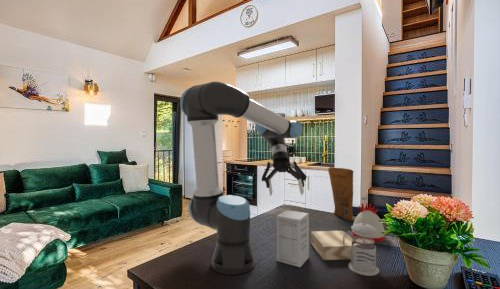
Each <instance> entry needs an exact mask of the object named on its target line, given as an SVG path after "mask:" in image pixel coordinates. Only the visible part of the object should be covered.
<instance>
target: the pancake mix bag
mask: <svg viewBox="0 0 500 289" xmlns="http://www.w3.org/2000/svg"><path fill="white" fill-rule="evenodd" d="M327 169H328V170H327V171H328V175H329V180H330V185H331V190H332V191H331V192H332V197H333V198H332V199H333V204H334V210H333V214H334V215H335V216H336V217H339V218H342V219H343V220H346V221H354V218H353V217H354V216H353V214H354V213H353V206H354V205H353V204H354V203H353V202H354V170H353V169H350V168H343V167H333V166H330V167H329V168H327Z"/></svg>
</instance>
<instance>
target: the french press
mask: <svg viewBox="0 0 500 289" xmlns="http://www.w3.org/2000/svg"><path fill="white" fill-rule="evenodd" d="M360 199H361V201H367V200H368V198H367V196H365V195H362V196H361V197H360ZM350 226H351V227H350V228H351V230H348V231H347V232H345V235H346V234H347V235H348V236H349V235H350V237H351V238H352V239H353V241H352V250H351V251H350V252H351V253H350V252H349V253H350V254H351V259H350V262H349V263H348V268H349V270H351V271H353V273H356V274H358V275H361V276H367V277H369V276H371V277H373V276H376V275H378V274H379V273H380V269H379V268H378V267H377V266H376V265H377V263H376V262H377V245H376V244H375V243H376V242H375V241H374V240H373V239H371V238H367V237H364V234H374V233H376V232H377V230H376V229H375V228H374V227H373V226H371V225H368V224H365V223H364V216H363V223H358V224H354V225H353V224H352V225H350ZM352 230H353V231H356V232H359V233H363V237H361V236H356V237H354V236H353V233H352ZM345 235H344V236H345ZM347 235H346V236H347ZM344 236H343V245H344V242H345V239H344ZM346 236H345V238H346ZM356 243H357V244H359V245H355V246H353V245H354V244H356ZM357 246H358V247H360V248H358V247H357ZM344 247H345V245H344ZM345 250H346V251H347V250H348V249H346V248H345ZM348 251H349V250H348ZM348 251H347V252H348ZM357 253H358V254H357Z"/></svg>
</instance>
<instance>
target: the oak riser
mask: <svg viewBox="0 0 500 289" xmlns="http://www.w3.org/2000/svg"><path fill="white" fill-rule="evenodd" d="M345 233H346V232H345V231H344V230H321V231H319V230H318V231H317V230H316V231H315V230H313V231H310V244H311V245H312V246H313V248H314V249H315V251H316V253H317V254H318V255H319V256H320V257H321V259H322V260H323V261H336V260H351V254H350V253H351V252H350V251H351V250H352V241H353V239H352V238H353V237H352V236H351V235H349V234H348V233H347V234H348V235H347V234H346V235H347V236H346V235H345ZM344 235H345V236H346V238H345V236H344ZM343 236H344V239H345V242H344V245H345V247H344V245H343ZM355 245H360V244H357V243H356V244H354V245H353V246H355ZM357 247H358V246H357ZM345 248H346V249H348V250H349V251H348V250H347V251H348V252H347V251H346V250H345ZM358 248H361V247H358ZM349 252H350V253H349ZM357 254H358V253H357Z"/></svg>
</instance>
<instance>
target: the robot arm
mask: <svg viewBox="0 0 500 289" xmlns="http://www.w3.org/2000/svg"><path fill="white" fill-rule="evenodd" d="M179 99H180V104H179V105H180V109H181V111H182V113H184V115H185V116H186V123H187V124H189V125H190V126H191V131H192V132H191V134H192V145H193V159H194V171H195V181H196V188H195V190H194V191H193V192H192V198H191V199H190V201H189V204H188V213H189V215H190V218H191V219H192V220H193V221H194V222H196V223H197V224H199V225H201V226H205V227H207V228H210V229H212V230H214V231H216V244H215V249H214V252H213V255H212V257H211V258H212V259H211V267H212V269H213V270H214V271H215V272H217V273H220V274H222V275H226V276H236V275H237V276H238V275H242V274H246V273H248V272H250V271H252V270H253V268H255V265H256V263H255V262H256V260H255V253H254V251H253V247H252V245H251V242H250V241H251V209H250V206H251V205H250V202H249V200H247V199H246V198H245V197H242V196H239V195H233V194H228V195H224V189H223V188H222V187H221V186H220V185H219V184H220V182H219V181H220V180H219V169H218V154H217V139H216V124H217V123H218V121H219V116H221V115H226V116H230V117H233V118H236V119H237V118H242V119H244V120H247V121H249V122H251V123H254V124H255V126H254V128H255V130H256V132H257V133H258V135H260V136H261V137H262V138H263V139H264V140H265V141H266V142H267V143H268V144H269V145H270V151H271V157H272V162H270V161H267V162H266V168H265V169H264V172H263V174H262V175H261V182H264V183H265V185H266V188H267V189H268V192H269V196H272V194H273V186H272V178H273V177H274V176H275V175H276V174H277V173H287V174H290V175H291V176H292V177H294V178H295V179H296V180H297V181H298V182H297V183H298V188H299V192H300V195H301V196H303V195H304V194H305V190H304V187H305V181H307V178H308V176H307V175H306V174H305V172H304V171H303V170H302V169H301V168H300V167H299V166H298V164H297V162H296V161H294V162H291V163H290V158H289V155H288V149H287V145H286V141H285V139H296V138H300V137H301V135H302V133H303V125H302V123H301V121H298V120H289V119H287V118H285V117H283V116H281V115H280V114H278V113H276V112H275V111H273V110H271V109H269V108H267V107H265V106H264V105H262V104H260V103H258V102H257V101H255V100H254V99H251V98H250V95H249V94H248V93H247V92H245V91H243V90H241V89H240V88H237V87H236V86H233V85H231V84H228V83H225V82H221V81H210V82H207V83H203V84H197V85H193V86H191V87H188V88H187V89H185V90H184V91H183V92H182V94H181V96H180V98H179ZM271 168H273V169H272V171H271V172H270V169H271ZM269 172H270V173H269ZM268 173H269V174H268Z"/></svg>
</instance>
